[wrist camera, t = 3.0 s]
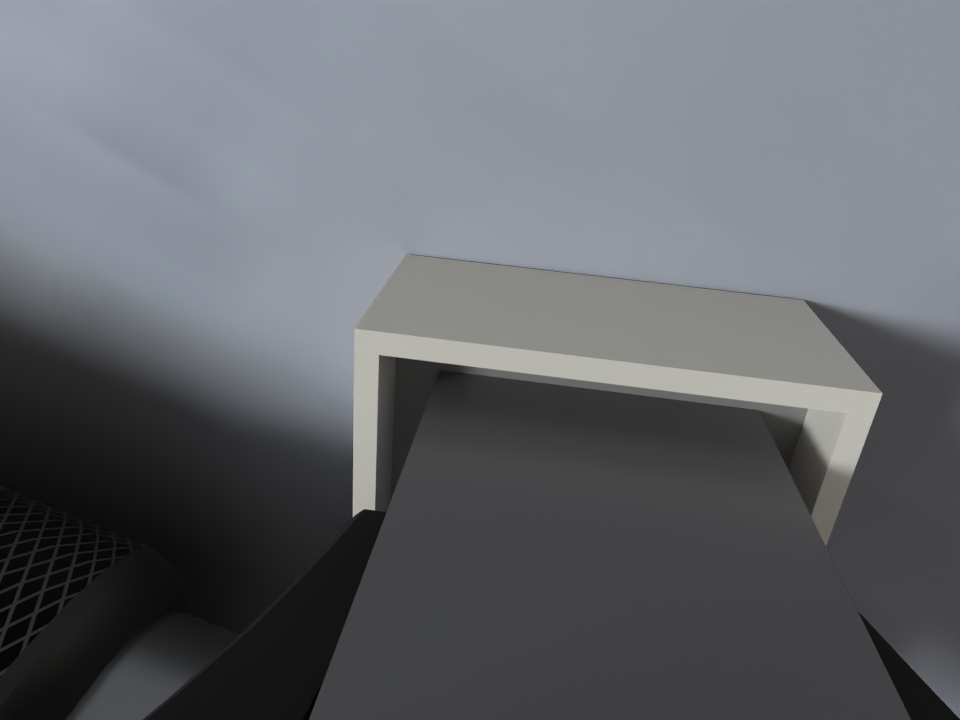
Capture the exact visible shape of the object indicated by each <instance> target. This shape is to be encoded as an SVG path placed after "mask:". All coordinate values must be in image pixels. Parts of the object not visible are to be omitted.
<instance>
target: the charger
mask: <svg viewBox="0 0 960 720" xmlns="http://www.w3.org/2000/svg"><path fill="white" fill-rule="evenodd" d="M309 720H911V719H910V717H909V715H908V713H907V711H906V709H905V706H904V704H903V702H902V700H901V698H900V696H899V694H898V692H897V690H896V688H895V686H894V684H893V682H892V680H891V678H890V676H889V674H888V672H887V670H886V668H885V666H884V664H883V662H882V660H881V658H880V656H879V654H878V652H877V649H876V647H875V645H874V643H873V641H872V639H871V637H870V635H869V633H868V631H867V629H866V627H865V625H864V623H863V621H862V619H861V617H860V615H859V613H858V611H857V609H856V607H855V605H854V603H853V601H852V599H851V597H850V595H849V593H848V590H847V588H846V586H845V584H844V582H843V580H842V578H841V576H840V574H839V572H838V570H837V568H836V566H835V564H834V562H833V560H832V558H831V556H830V554H829V552H828V550H827V548H826V546H825V544H824V542H823V540H822V538H821V536H820V534H819V531H818V529H817V527H816V525H815V523H814V521H813V519H812V517H811V515H810V513H809V511H808V509H807V507H806V505H805V503H804V501H803V499H802V497H801V495H800V493H799V491H798V489H797V487H796V485H795V483H794V481H793V479H792V477H791V474H790V472H789V470H788V468H787V466H786V464H785V462H784V460H783V458H782V456H781V454H780V452H779V450H778V448H777V446H776V444H775V442H774V440H773V438H772V436H771V434H770V432H769V430H768V428H767V426H766V424H765V422H764V420H763V418H762V415H761V413H760V411H759V410H755V409H747V408H739V407H731V406H723V405H715V404H707V403H699V402H691V401H683V400H675V399H667V398H659V397H651V396H643V395H635V394H627V393H619V392H611V391H603V390H595V389H588V388H580V387H572V386H564V385H556V384H548V383H540V382H532V381H524V380H516V379H508V378H500V377H492V376H484V375H476V374H468V373H460V372H452V371H444V370H440V371H439V373H438V376H437V379H436V381H435V384H434V387H433V389H432V392H431V395H430V397H429V400H428V403H427V405H426V408H425V411H424V413H423V416H422V419H421V422H420V424H419V427H418V430H417V432H416V435H415V438H414V440H413V443H412V446H411V448H410V451H409V454H408V456H407V459H406V462H405V464H404V467H403V470H402V472H401V475H400V478H399V480H398V483H397V486H396V488H395V491H394V494H393V496H392V499H391V502H390V504H389V507H388V510H387V512H386V515H385V518H384V520H383V523H382V526H381V528H380V531H379V534H378V537H377V539H376V542H375V545H374V547H373V550H372V553H371V555H370V558H369V561H368V563H367V566H366V569H365V571H364V574H363V577H362V579H361V582H360V585H359V587H358V590H357V593H356V595H355V598H354V601H353V603H352V606H351V609H350V611H349V614H348V617H347V619H346V622H345V625H344V627H343V630H342V633H341V635H340V638H339V641H338V643H337V646H336V649H335V652H334V654H333V657H332V660H331V662H330V665H329V668H328V670H327V673H326V676H325V678H324V681H323V684H322V686H321V689H320V692H319V694H318V697H317V700H316V702H315V705H314V708H313V710H312V713H311V716H310V718H309Z"/></svg>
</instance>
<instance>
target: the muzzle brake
mask: <svg viewBox="0 0 960 720" xmlns="http://www.w3.org/2000/svg"><path fill="white" fill-rule="evenodd" d="M188 604H189V590H188V585H187V584H186V582H185V581H184V580H183V579H182V577H181V576H180V575H179V574H178V572H177V571H176V570H175V569H174V567H173V566H172V565H171V563H170V562H169V561H168V560H167V559H166V558H164V557H163V556H162V555H161V554H160V553H158V552H157V551H156V550H154V549H153V548H151V547H150V546H147V545H145V544H142V543H140V542H137V541H135V540H132V539H130V538H127V537H125V536H123V535H120V534H118V533H115V532H113V531H110V530H108V529H105V528H103V527H100V526H98V525H96V524H93V523H91V522H88V521H86V520H83V519H81V518H78V517H76V516H73V515H71V514H69V513H66V512H64V511H61V510H59V509H56V508H54V507H51V506H49V505H46V504H44V503H42V502H39V501H37V500H34V499H32V498H29V497H27V496H24V495H22V494H19V493H17V492H15V491H12V490H10V489H7V488H5V487H2V486H0V720H143V719H144V718H145V717H146V716H147V715H149V714H150V713H151V712H152V711H154V710H155V709H156V708H157V707H158V706H160V705H161V704H162V703H163V702H164V701H166V700H167V699H168V698H169V697H170V696H172V695H173V694H174V693H175V692H176V691H177V690H179V689H180V688H181V687H182V686H183V685H184V684H185V683H187V682H188V681H189V680H190V679H191V678H192V677H193V676H194V675H196V674H197V673H198V672H199V671H200V670H201V669H202V668H203V667H205V666H206V665H207V664H208V663H209V662H210V661H211V660H212V659H213V658H215V657H216V656H217V655H218V654H219V653H220V652H221V651H222V650H224V649H225V648H226V647H227V646H228V645H229V644H230V643H231V642H233V641H234V640H235V639H236V638H237V637H238V636H239V635H238V634H236V633H233V632H231V631H228V630H226V629H223V628H221V627H218V626H216V625H213V624H211V623H208V622H206V621H203V620H201V619H198V618H196V617H193V616H191V615H188V614H187V610H188Z"/></svg>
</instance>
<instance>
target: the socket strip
mask: <svg viewBox="0 0 960 720" xmlns="http://www.w3.org/2000/svg"><path fill="white" fill-rule="evenodd" d="M440 370H444V371H452V372H460V373H468V374H476V375H484V376H492V377H500V378H508V379H516V380H524V381H532V382H540V383H548V384H556V385H564V386H572V387H580V388H588V389H595V390H603V391H611V392H619V393H627V394H635V395H643V396H651V397H659V398H667V399H675V400H683V401H691V402H699V403H707V404H715V405H723V406H731V407H739V408H747V409H755V410H759V411H760V413H761V415H762V418H763V420H764V422H765V424H766V426H767V428H768V430H769V432H770V434H771V436H772V438H773V440H774V442H775V444H776V446H777V448H778V450H779V452H780V454H781V456H782V458H783V460H784V462H785V464H786V466H787V468H788V470H789V472H790V474H791V477H792V479H793V481H794V483H795V485H796V487H797V489H798V491H799V493H800V495H801V497H802V499H803V501H804V503H805V505H806V507H807V509H808V511H809V513H810V515H811V517H812V519H813V521H814V523H815V525H816V527H817V529H818V531H819V534H820V536H821V538H822V540H823V542H824V544H825V546H827V543H828V540H829V538H830V535H831V532H832V529H833V527H834V524H835V521H836V519H837V516H838V513H839V511H840V508H841V505H842V502H843V500H844V497H845V494H846V492H847V489H848V486H849V483H850V481H851V478H852V475H853V473H854V470H855V467H856V465H857V462H858V459H859V456H860V454H861V451H862V448H863V446H864V443H865V440H866V437H867V435H868V432H869V429H870V427H871V424H872V421H873V419H874V416H875V413H876V410H877V408H878V405H879V402H880V400H881V397H882V394H883V393H882V392H881V391H880V390H879V389H878V387H877V386H876V385H875V384H874V383H873V381H872V380H871V379H870V378H869V377H868V376H867V374H866V373H865V372H864V371H863V370H862V369H861V367H860V366H859V365H858V364H857V363H856V361H855V360H854V359H853V358H852V357H851V356H850V354H849V353H848V352H847V351H846V350H845V348H844V347H843V346H842V345H841V344H840V343H839V341H838V340H837V339H836V338H835V337H834V336H833V334H832V333H831V332H830V331H829V330H828V328H827V327H826V326H825V325H824V324H823V323H822V321H821V320H820V319H819V318H818V317H817V316H816V314H815V313H814V312H813V311H812V310H811V308H810V307H809V306H808V305H807V304H806V303H805V301H804V300H798V299H789V298H780V297H772V296H763V295H754V294H746V293H737V292H728V291H720V290H711V289H702V288H694V287H685V286H677V285H668V284H659V283H651V282H642V281H633V280H625V279H616V278H607V277H599V276H590V275H581V274H573V273H564V272H555V271H547V270H538V269H529V268H521V267H512V266H503V265H495V264H486V263H477V262H469V261H460V260H451V259H443V258H434V257H425V256H417V255H408V254H407V255H406V256H405V257H404V259H403V260H402V262H401V263H400V265H399V266H398V267H397V269H396V270H395V272H394V273H393V274H392V276H391V277H390V279H389V280H388V282H387V283H386V284H385V286H384V287H383V289H382V290H381V291H380V293H379V294H378V296H377V297H376V299H375V300H374V301H373V303H372V304H371V306H370V307H369V308H368V310H367V311H366V313H365V314H364V316H363V317H362V318H361V320H360V321H359V323H358V324H357V326H356V327H355V328H354V421H353V517H354V516H355V515H356V514H358V513H359V512H360V511H362V510H363V509H368V510H375V511H382V512H387V510H388V507H389V504H390V502H391V499H392V496H393V494H394V491H395V488H396V486H397V483H398V480H399V478H400V475H401V472H402V470H403V467H404V464H405V462H406V459H407V456H408V454H409V451H410V448H411V446H412V443H413V440H414V438H415V435H416V432H417V430H418V427H419V424H420V422H421V419H422V416H423V413H424V411H425V408H426V405H427V403H428V400H429V397H430V395H431V392H432V389H433V387H434V384H435V381H436V379H437V376H438V373H439V371H440Z"/></svg>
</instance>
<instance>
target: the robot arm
mask: <svg viewBox="0 0 960 720" xmlns="http://www.w3.org/2000/svg"><path fill="white" fill-rule="evenodd" d="M385 515H386V512H382V511H375V510H368V509H363V510H362V511H360V512H359V513H358V514H356V515H355V516H354V517H353V518H352V519H351V520H350V522H349V523H348V524H347V525H346V526H345V527H344V528H343V530H342V531H341V532H340V533H339V534H338V535H337V536H336V537H335V539H334V540H333V541H332V542H331V543H330V544H329V545H328V546H327V547H326V549H325V550H324V551H323V552H322V553H321V554H320V555H319V556H318V557H317V558H316V559H315V560H314V561H313V562H312V564H311V565H310V566H309V567H308V568H307V569H306V570H305V571H304V572H303V573H302V574H301V575H300V576H299V577H298V578H297V579H296V580H295V581H294V582H293V583H292V584H291V585H290V586H289V587H288V588H287V589H286V590H285V591H284V592H283V593H282V594H281V595H280V596H279V597H278V598H277V599H276V600H275V601H274V602H273V603H272V604H271V605H270V606H269V607H268V608H267V609H266V610H265V611H264V612H263V613H262V614H261V615H260V616H259V617H258V618H257V619H256V620H255V621H254V622H253V623H252V624H251V625H250V626H249V627H248V628H247V629H246V630H244V631H243V632H242V633H241V634H240V635H239V636H238V637H237V638H236V639H235V640H234V641H233V642H231V643H230V644H229V645H228V646H227V647H226V648H225V649H224V650H222V651H221V652H220V653H219V654H218V655H217V656H216V657H215V658H213V659H212V660H211V661H210V662H209V663H208V664H207V665H206V666H205V667H203V668H202V669H201V670H200V671H199V672H198V673H197V674H196V675H194V676H193V677H192V678H191V679H190V680H189V681H188V682H187V683H185V684H184V685H183V686H182V687H181V688H180V689H179V690H177V691H176V692H175V693H174V694H173V695H172V696H170V697H169V698H168V699H167V700H166V701H164V702H163V703H162V704H161V705H160V706H158V707H157V708H156V709H155V710H154V711H152V712H151V713H150V714H149V715H147V716H146V717H145V718H144V719H143V720H309V718H310V716H311V713H312V710H313V708H314V705H315V702H316V700H317V697H318V694H319V692H320V689H321V686H322V684H323V681H324V678H325V676H326V673H327V670H328V668H329V665H330V662H331V660H332V657H333V654H334V652H335V649H336V646H337V643H338V641H339V638H340V635H341V633H342V630H343V627H344V625H345V622H346V619H347V617H348V614H349V611H350V609H351V606H352V603H353V601H354V598H355V595H356V593H357V590H358V587H359V585H360V582H361V579H362V577H363V574H364V571H365V569H366V566H367V563H368V561H369V558H370V555H371V553H372V550H373V547H374V545H375V542H376V539H377V537H378V534H379V531H380V528H381V526H382V523H383V520H384V518H385ZM858 613H859V612H858ZM859 615H860V617H861V619H862V621H863V623H864V625H865V627H866V629H867V631H868V633H869V635H870V637H871V639H872V641H873V643H874V645H875V647H876V649H877V652H878V654H879V656H880V658H881V660H882V662H883V664H884V666H885V668H886V670H887V672H888V674H889V676H890V678H891V680H892V682H893V684H894V686H895V688H896V690H897V692H898V694H899V696H900V698H901V700H902V702H903V704H904V706H905V709H906V711H907V713H908V715H909V717H910V719H911V720H960V719H959V718H958V717H957V716H956V715H955V714H954V713H953V712H952V711H951V709H950V708H949V707H948V706H947V705H946V704H945V703H944V702H943V701H942V700H941V699H940V698H939V697H938V696H937V695H936V694H935V693H934V692H933V691H932V690H931V689H930V688H929V687H928V685H927V684H926V683H925V682H924V681H923V680H922V679H921V678H920V677H919V676H918V675H917V674H916V673H915V672H914V671H913V670H912V669H911V667H910V666H909V665H908V664H907V663H906V662H905V661H904V660H903V659H902V658H901V657H900V656H899V655H898V654H897V652H896V651H895V650H894V649H893V648H892V647H891V646H890V645H889V644H888V643H887V642H886V641H885V640H884V639H883V638H882V636H881V635H880V634H879V633H878V632H877V631H876V630H875V629H874V628H873V627H872V626H871V625H870V624H869V622H868V621H867V620H866V619H865V618H864V617H863V616H862V615H861V614H860V613H859Z"/></svg>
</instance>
